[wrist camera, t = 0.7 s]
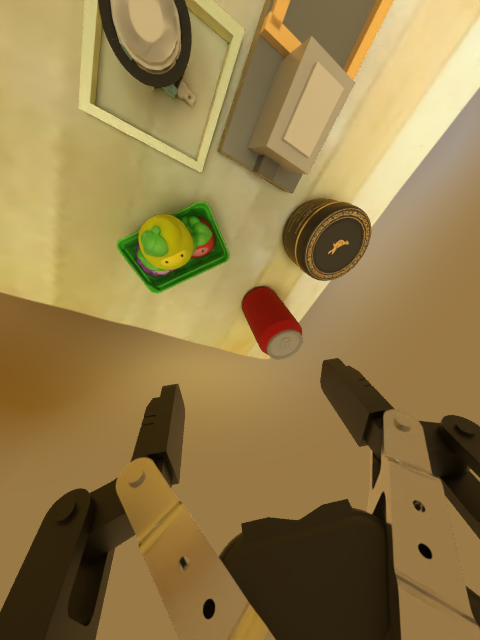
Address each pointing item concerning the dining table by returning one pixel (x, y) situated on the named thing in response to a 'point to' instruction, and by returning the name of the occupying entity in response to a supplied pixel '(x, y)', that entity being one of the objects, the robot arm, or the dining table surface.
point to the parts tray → (222, 24)
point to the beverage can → (272, 324)
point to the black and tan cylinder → (151, 41)
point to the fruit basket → (175, 247)
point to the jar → (327, 237)
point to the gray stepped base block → (297, 83)
